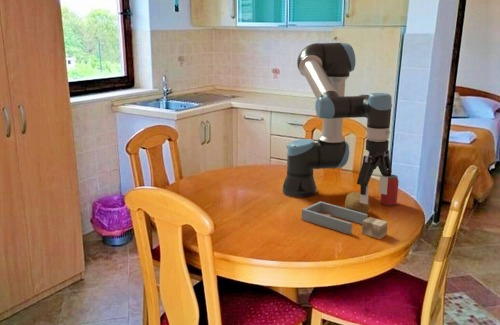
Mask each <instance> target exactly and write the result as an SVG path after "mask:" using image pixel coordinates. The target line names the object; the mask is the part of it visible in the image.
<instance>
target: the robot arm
mask: <svg viewBox="0 0 500 325" xmlns="http://www.w3.org/2000/svg"><path fill="white" fill-rule="evenodd" d="M356 61H357V60H356V54H355V51H354V48H353V46H352V45H351V44H349V43H346V42H345V43H344V42H321V43H320V42H315V43H311V44H309V45H307V46H305V47H304V48H303V49H302V50H301V51H300V52H299V53H298V57H297V63H296V65H297V66H296V67H297V69H298V71H299V72H300V74H301V76H304V78H305V79H306V82H307V83H308V85H309V86H310V89H311V90H312V92H313V95H314V97H315V98H316V101H315V105H314V106H315V108H314V110H315V113H316V116H317V117H318V118H319V119H322V128H321V135H319V136H318V138H317V139H318V140H317V142H315V141H314V140H313V139H312V138H300V139H296V140H292V141H291V142H290V143H288V145H287V149H286V150H287V152H286V176H285V178H284V183H283V185H282V193H283V194H284V195H286V196H289V197H293V198H308V197H312V196H315V195H316V194H317V190H318V189H317V185H316V181H315V178H314V170H320V169H323V170H325V169H339V168H343V167H344V166H345V165H347V162H348V161H349V157H350V149H349V148H350V145H349V143H348V142H347V141H346V138H345V136H343V135H342V134H343V124H344V122H343V121H344V119H346V118H347V119H349V118H350V119H351V118H352V119H354V118H366V133H365V135H366V136H365V138H367V139H366V140H365V150H366V151H367V152H368V155H363V157H362V162H361V163H362V164H361V167H360V171H359V173H358V174H359V175H358V177H357V181H356V184H357V185H360V190H359V191H360V192H359V193H360V203H363V204H368V199H369V193H370V192H369V191H370V190H369V189H370V185H368V184H369V182H370V180H371V177H372V175H373V172H374V170H376V169H377V168H378V169H379V171H380V175H379V186H378V187H379V188H378V194H380V195H381V194H385V195H386V194H387V184H388V176H389V177H391V174H392V171H393V169H392V166H391V160H390V150H389V145H390V144H389V142H390V141H389V139H390V134H391V131H390V126H391V116H392V108H393V104H392V102H393V100H392V95H391V94H390V93H385V92H374V93H373V92H372V93H370V94H359V95H352V96H351V95H350V96H349V95H348V96H347V95H346V96H345V91H346V90H345V89H346V80H347V79H349V78H350V72H353V71H354V70H355V67H356Z"/></svg>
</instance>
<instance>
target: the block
mask: <svg viewBox="0 0 500 325" xmlns="http://www.w3.org/2000/svg"><path fill="white" fill-rule="evenodd" d="M388 224H389V222H388V221H386V220H383V219H379V218H375V217H371V216H369V217H368V218H367V219H365V220H364V221H363V224H362V229H361V230H362V232H361V234H362V235H366V236H369V237H372V238H376V239H378V240H380V239H381V240H382V239H383V238H384V237H385V236H387V233H388Z"/></svg>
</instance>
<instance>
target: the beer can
mask: <svg viewBox="0 0 500 325" xmlns="http://www.w3.org/2000/svg"><path fill="white" fill-rule="evenodd" d="M390 174H391V177H389V176H388V184H387V194H386V195H385V194H381V193H380V204H382V205H384V206H386V207H387V206H388V207H391V206H392V207H393V206H396V204H397V203H398V193H399V192H398V190H399V178H398V175H396V174H392V173H390Z"/></svg>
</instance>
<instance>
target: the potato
mask: <svg viewBox="0 0 500 325" xmlns="http://www.w3.org/2000/svg"><path fill="white" fill-rule="evenodd" d="M344 204H345V205H344V206H345V208H347V209H350V210H354V211H357V212H361V213H364V214H368V213H369V210H370V208H371V203H370V199H369V198H368V204H363V203H360V192H359V191H353V192H352V191H351V192H349V193H348V194H346V198H345V202H344Z"/></svg>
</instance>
